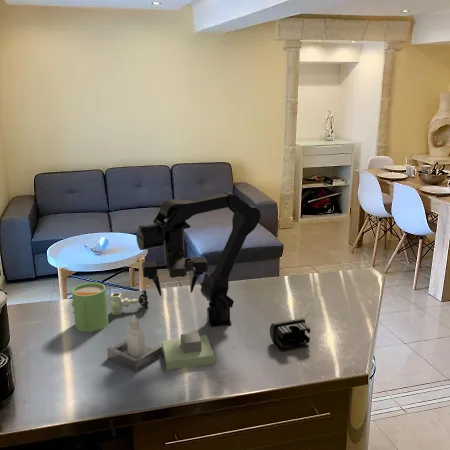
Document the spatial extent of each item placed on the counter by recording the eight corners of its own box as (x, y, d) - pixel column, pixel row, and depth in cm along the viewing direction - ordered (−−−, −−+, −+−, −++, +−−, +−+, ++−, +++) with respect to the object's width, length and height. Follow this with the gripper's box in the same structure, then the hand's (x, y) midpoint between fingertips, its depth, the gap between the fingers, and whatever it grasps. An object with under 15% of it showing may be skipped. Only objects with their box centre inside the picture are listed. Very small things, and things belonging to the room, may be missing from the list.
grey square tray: (135, 342, 143) (134, 333, 143) (162, 354, 137) (162, 344, 136) (108, 358, 136) (107, 348, 135) (135, 371, 129) (134, 361, 128)
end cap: (299, 334, 147) (300, 314, 145) (310, 346, 141) (312, 325, 139) (269, 340, 144) (269, 320, 142) (279, 352, 138) (280, 331, 136)
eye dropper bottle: (130, 360, 133) (127, 321, 130) (127, 350, 138) (124, 312, 135) (146, 357, 135) (143, 318, 131) (142, 347, 140) (140, 309, 136)
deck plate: (206, 342, 143) (206, 326, 141) (214, 363, 133) (214, 345, 131) (162, 348, 140) (161, 331, 138) (166, 369, 130) (166, 351, 128)
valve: (112, 318, 158) (148, 312, 162) (110, 299, 157) (147, 294, 160) (109, 309, 164) (145, 304, 168) (108, 291, 163) (144, 286, 166)
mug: (80, 316, 160) (76, 282, 156) (112, 316, 159) (109, 282, 156) (67, 335, 147) (62, 299, 144) (101, 336, 147) (98, 299, 144)
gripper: (143, 256, 131) (146, 309, 135) (211, 250, 135) (212, 301, 139) (140, 243, 141) (143, 292, 146) (203, 238, 145) (204, 286, 150)
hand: (175, 293), depth 145 cm, fingers open, 9 cm apart
